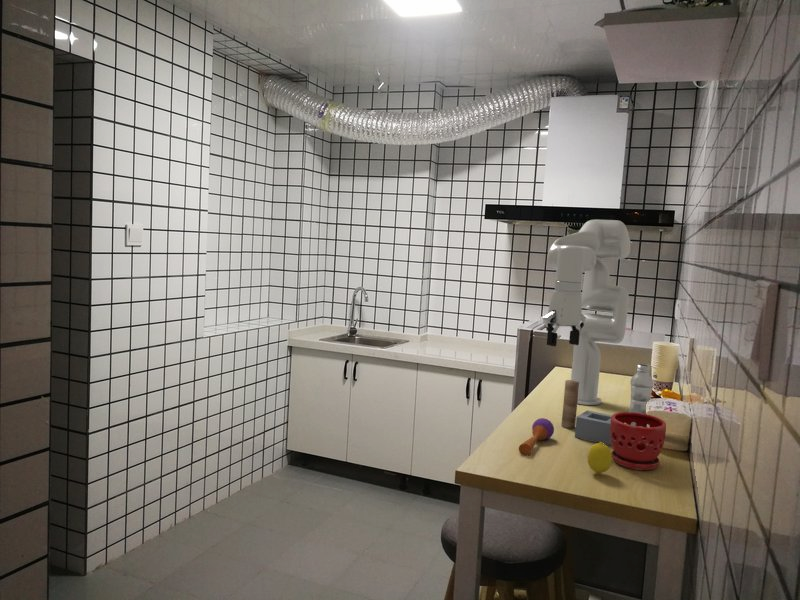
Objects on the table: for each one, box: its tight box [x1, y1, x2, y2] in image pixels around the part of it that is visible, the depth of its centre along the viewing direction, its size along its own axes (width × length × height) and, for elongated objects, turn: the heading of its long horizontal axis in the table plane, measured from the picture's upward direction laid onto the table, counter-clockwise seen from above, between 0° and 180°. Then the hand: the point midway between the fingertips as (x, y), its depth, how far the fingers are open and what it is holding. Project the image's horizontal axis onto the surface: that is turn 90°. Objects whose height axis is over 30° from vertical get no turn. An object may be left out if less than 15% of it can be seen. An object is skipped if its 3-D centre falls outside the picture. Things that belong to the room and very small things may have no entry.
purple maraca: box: [518, 417, 555, 456], centre depth 165 cm, size 6×6×20 cm
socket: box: [574, 409, 613, 446], centre depth 176 cm, size 10×10×6 cm
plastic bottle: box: [628, 363, 654, 427], centre depth 186 cm, size 6×7×20 cm
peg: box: [561, 379, 579, 430], centre depth 184 cm, size 4×4×14 cm
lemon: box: [587, 442, 613, 475], centre depth 146 cm, size 6×6×8 cm
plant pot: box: [610, 411, 667, 471], centre depth 154 cm, size 13×13×12 cm
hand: (562, 345), depth 181 cm, fingers open, 9 cm apart
